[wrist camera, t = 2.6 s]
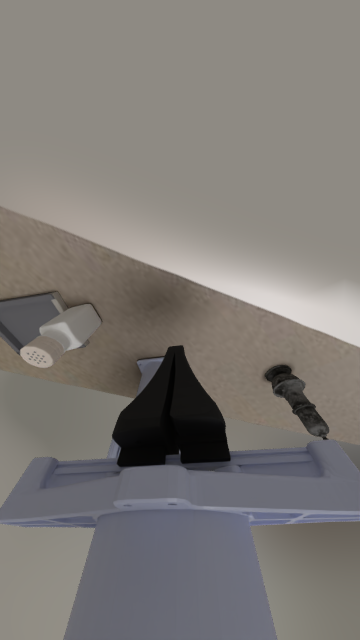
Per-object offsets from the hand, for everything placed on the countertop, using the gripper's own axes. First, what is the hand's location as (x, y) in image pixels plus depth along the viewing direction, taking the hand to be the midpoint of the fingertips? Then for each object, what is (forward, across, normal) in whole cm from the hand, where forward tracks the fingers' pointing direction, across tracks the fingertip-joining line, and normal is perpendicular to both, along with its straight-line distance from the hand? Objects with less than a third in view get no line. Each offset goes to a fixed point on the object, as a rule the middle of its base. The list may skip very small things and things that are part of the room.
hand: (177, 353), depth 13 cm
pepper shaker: (+11, +15, -1) cm, 18 cm away
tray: (+10, +24, 0) cm, 26 cm away
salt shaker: (+11, -19, +19) cm, 29 cm away
